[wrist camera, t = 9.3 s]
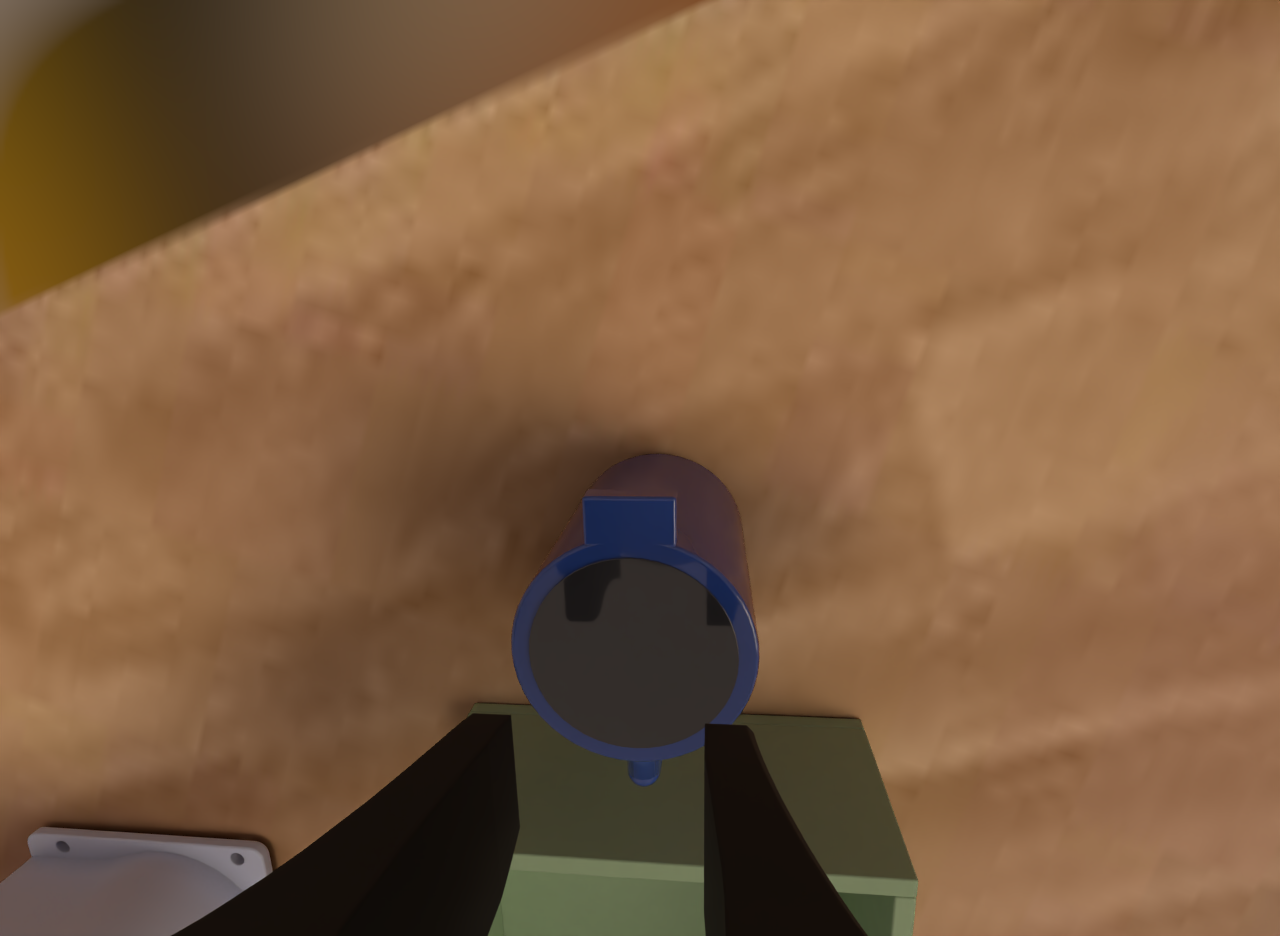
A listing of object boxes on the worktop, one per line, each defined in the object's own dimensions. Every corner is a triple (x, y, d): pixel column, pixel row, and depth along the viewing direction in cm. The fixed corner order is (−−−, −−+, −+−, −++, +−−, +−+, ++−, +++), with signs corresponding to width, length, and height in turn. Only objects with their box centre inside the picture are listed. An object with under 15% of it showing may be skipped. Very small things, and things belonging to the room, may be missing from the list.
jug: (571, 426, 19) (497, 496, 13) (744, 425, 19) (764, 499, 12) (582, 659, 21) (523, 829, 15) (740, 664, 21) (755, 844, 14)
